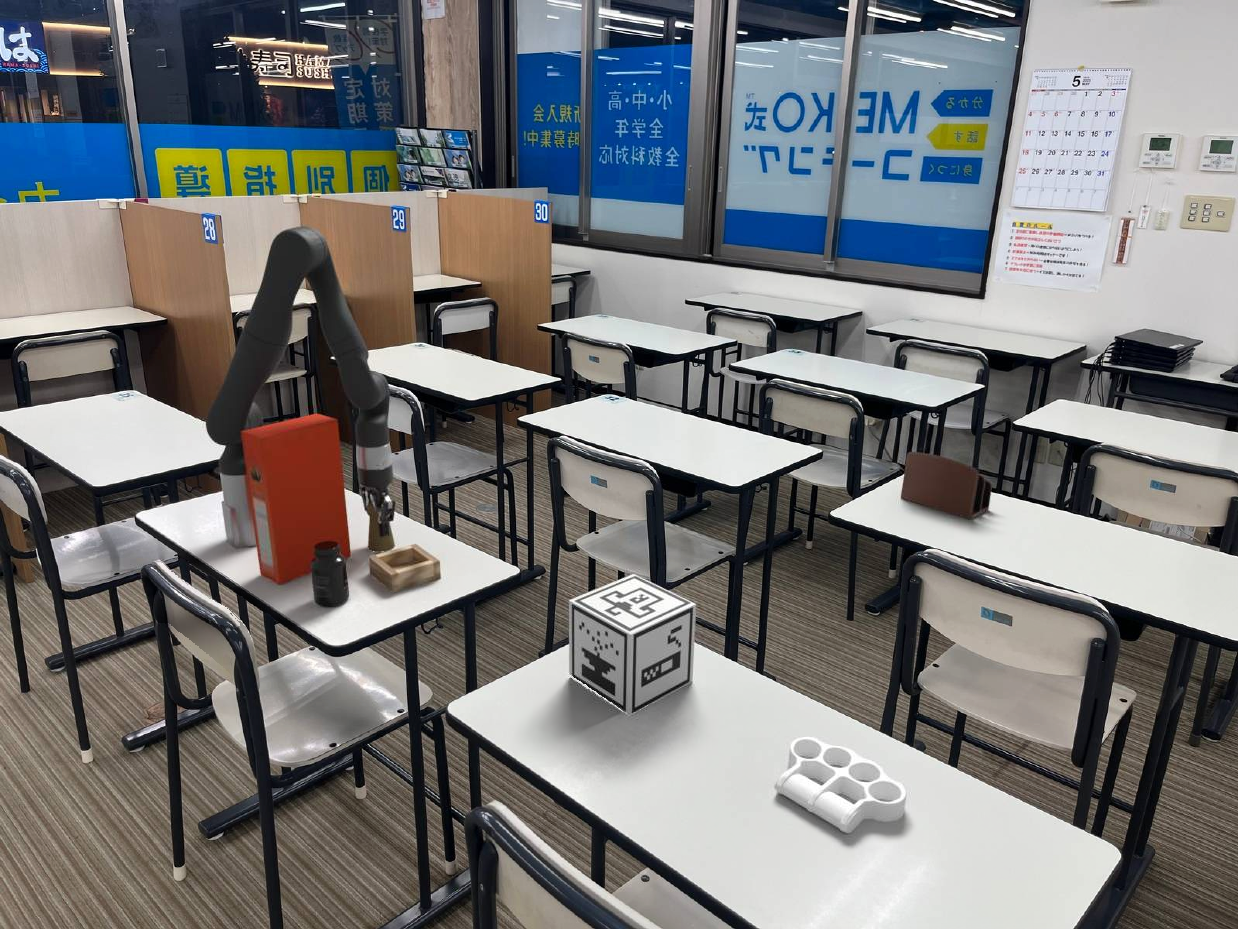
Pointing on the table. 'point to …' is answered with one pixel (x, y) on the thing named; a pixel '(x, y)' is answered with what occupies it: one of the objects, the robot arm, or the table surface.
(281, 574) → the file binder
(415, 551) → the oak holder
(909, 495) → the letter holder
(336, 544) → the supplement bottle
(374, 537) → the olive knobbed tapered cylinder
